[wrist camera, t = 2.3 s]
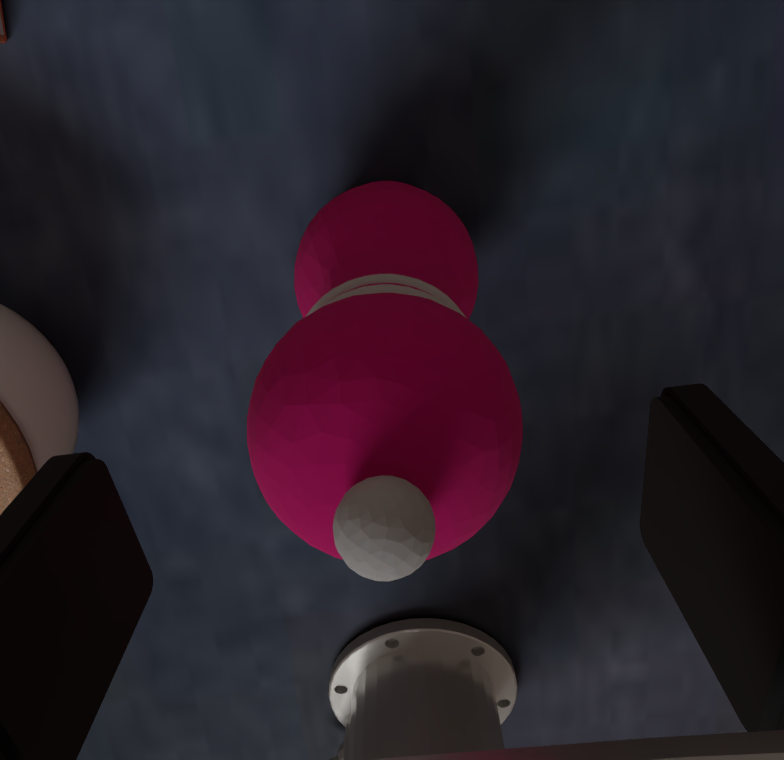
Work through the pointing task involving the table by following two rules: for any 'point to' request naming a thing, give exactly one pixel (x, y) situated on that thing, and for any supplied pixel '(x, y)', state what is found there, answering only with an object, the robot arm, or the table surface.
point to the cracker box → (2, 27)
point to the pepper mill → (385, 389)
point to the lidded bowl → (31, 404)
